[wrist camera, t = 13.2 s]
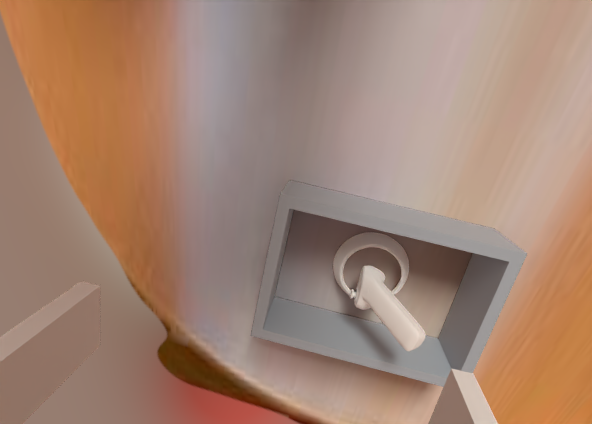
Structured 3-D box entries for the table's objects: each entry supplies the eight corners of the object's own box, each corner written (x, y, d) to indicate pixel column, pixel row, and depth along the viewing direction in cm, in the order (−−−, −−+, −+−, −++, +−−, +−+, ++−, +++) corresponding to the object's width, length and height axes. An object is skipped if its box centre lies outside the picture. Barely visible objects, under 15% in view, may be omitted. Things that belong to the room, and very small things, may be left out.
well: (289, 179, 34) (279, 194, 28) (494, 228, 33) (527, 253, 27) (263, 301, 38) (250, 335, 32) (444, 348, 37) (463, 392, 31)
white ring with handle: (451, 359, 31) (392, 385, 28) (372, 274, 40) (320, 287, 37) (485, 299, 28) (422, 321, 24) (390, 220, 37) (334, 229, 33)
